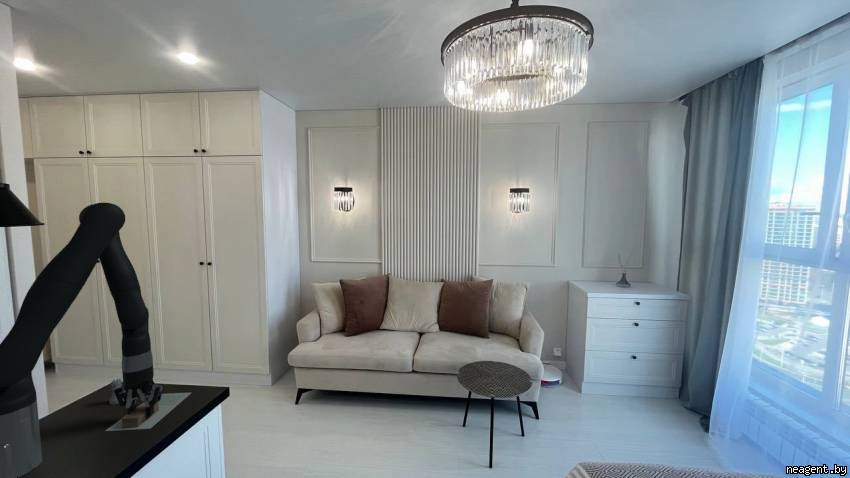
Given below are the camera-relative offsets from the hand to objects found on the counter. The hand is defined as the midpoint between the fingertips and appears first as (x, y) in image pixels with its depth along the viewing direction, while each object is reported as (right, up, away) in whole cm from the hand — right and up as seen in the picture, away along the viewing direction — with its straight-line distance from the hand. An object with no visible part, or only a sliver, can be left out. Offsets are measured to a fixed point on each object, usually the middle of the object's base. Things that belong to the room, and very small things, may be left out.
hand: (141, 416), depth 108 cm
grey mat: (0, -1, +5) cm, 5 cm away
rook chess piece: (-18, -1, +11) cm, 20 cm away
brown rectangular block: (0, -1, 0) cm, 1 cm away
